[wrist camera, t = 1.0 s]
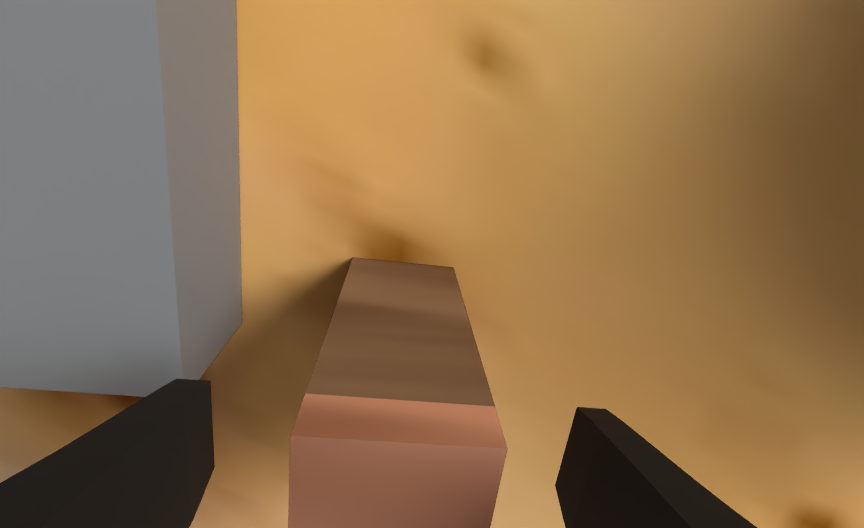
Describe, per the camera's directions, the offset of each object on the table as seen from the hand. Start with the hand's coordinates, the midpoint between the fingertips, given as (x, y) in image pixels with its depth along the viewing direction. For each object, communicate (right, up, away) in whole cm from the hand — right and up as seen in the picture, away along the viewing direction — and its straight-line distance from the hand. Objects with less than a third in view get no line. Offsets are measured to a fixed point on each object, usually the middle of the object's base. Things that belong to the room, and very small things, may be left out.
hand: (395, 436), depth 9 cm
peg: (0, +2, +6) cm, 6 cm away
